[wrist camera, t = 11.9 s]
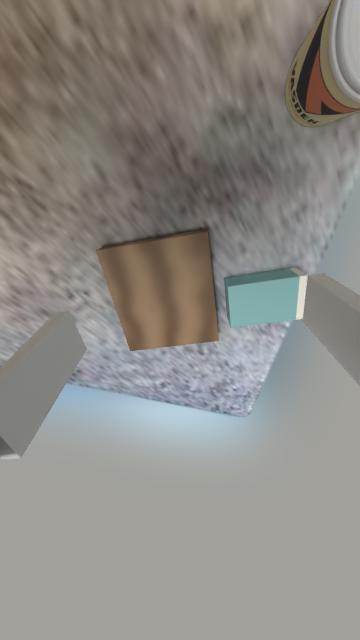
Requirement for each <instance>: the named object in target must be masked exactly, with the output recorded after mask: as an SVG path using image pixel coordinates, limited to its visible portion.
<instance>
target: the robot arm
mask: <svg viewBox="0 0 360 640" xmlns="http://www.w3.org/2000/svg"><path fill="white" fill-rule="evenodd" d="M303 322H304V324H305V325H306V326H307V327H308V328H309V329H310V330H311V332H312V333H313V334H314V335H315V336H316V337H317V338H318V339H319V341H320V342H321V343H322V344H323V345H324V346H325V347H326V348H327V350H328V351H329V352H330V353H331V354H332V355H333V356H334V357H335V359H336V360H337V361H338V362H339V363H340V364H341V365H342V367H343V368H344V369H345V370H346V371H347V372H348V373H349V374H350V375H351V377H352V378H353V379H354V380H355V381H356V382H357V383H358V385H359V386H360V295H358V294H356V293H355V292H353V291H351V290H350V289H348V288H347V287H345V286H343V285H342V284H340V283H338V282H337V281H335V280H333V279H332V278H330V277H329V276H327V275H325V274H317V275H310V276H308V281H307V289H306V297H305V305H304V313H303ZM86 349H87V348H86V346H85V344H84V342H83V340H82V338H81V336H80V334H79V331H78V329H77V327H76V325H75V323H74V321H73V319H72V317H71V315H70V312H69V311H65V312H59V313H56V314H55V315H54V316H53V317H52V318H51V319H50V320H49V321H47V322H46V323H45V324H44V325H43V326H42V327H41V328H40V329H39V330H38V331H37V332H36V333H35V334H34V335H33V336H32V337H31V338H30V339H29V340H28V341H27V342H26V343H25V344H24V345H23V346H22V347H21V348H20V349H19V350H18V351H17V352H16V353H15V354H14V355H13V356H12V357H11V358H10V359H9V360H8V361H7V362H6V363H5V364H4V365H3V366H2V367H1V368H0V457H1V458H2V459H14V458H21V457H22V456H23V454H24V452H25V451H26V449H27V447H28V446H29V444H30V442H31V441H32V439H33V437H34V436H35V434H36V432H37V431H38V429H39V427H40V426H41V424H42V422H43V421H44V419H45V417H46V416H47V414H48V412H49V411H50V409H51V407H52V406H53V404H54V403H55V401H56V399H57V398H58V396H59V394H60V393H61V391H62V389H63V388H64V386H65V384H66V383H67V381H68V379H69V378H70V376H71V374H72V373H73V371H74V369H75V368H76V366H77V364H78V363H79V361H80V359H81V358H82V356H83V354H84V353H85V351H86Z"/></svg>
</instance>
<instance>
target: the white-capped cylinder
mask: <svg viewBox="0 0 360 640" xmlns="http://www.w3.org/2000/svg"><path fill="white" fill-rule="evenodd" d="M285 99H286V105H287V108H288V111H289V113H290V115H291V116H292V118H293V119H294V120H295V121H296V122H298V123H299V124H301V125H303V126H307V127H316V126H320V125H324V124H327V123H330V122H332V121H335V120H338V119H341V118H344V117H346V116H349V115H352V114H355V113H357V112H360V0H330V1H329V2H328V4H327V6H326V7H325V9H324V10H323V12H322V14H321V15H320V17H319V18H318V20H317V22H316V23H315V25H314V27H313V28H312V30H311V31H310V33H309V35H308V36H307V38H306V40H305V41H304V43H303V44H302V46H301V48H300V49H299V51H298V53H297V55H296V57H295V58H294V60H293V62H292V65H291V67H290V69H289V72H288V76H287V80H286V87H285Z"/></svg>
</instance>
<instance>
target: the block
mask: <svg viewBox="0 0 360 640" xmlns="http://www.w3.org/2000/svg"><path fill="white" fill-rule="evenodd" d="M224 282H225V295H226V308H227V317H228V320H229V324H230V327H239V326H247V325H255V324H263V323H272V322H280V321H288V320H296V319H303V311H304V301H305V292H306V283H307V275H306V274H305V273H303V272H302V271H300V270H299V269H297V268H296V267H295V268H288V269H281V270H275V271H268V272H261V273H255V274H248V275H241V276H234V277H228V278H224Z"/></svg>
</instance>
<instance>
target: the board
mask: <svg viewBox="0 0 360 640" xmlns="http://www.w3.org/2000/svg"><path fill="white" fill-rule="evenodd" d="M96 252H97V254H98V257H99V260H100V263H101V266H102V269H103V272H104V275H105V278H106V281H107V284H108V287H109V290H110V293H111V296H112V299H113V301H114V304H115V307H116V310H117V313H118V316H119V319H120V322H121V325H122V328H123V331H124V334H125V337H126V340H127V343H128V345H129V348H130V351H135V350H143V349H152V348H160V347H169V346H178V345H186V344H195V343H204V342H212V341H219V336H218V326H217V316H216V306H215V296H214V286H213V277H212V267H211V257H210V247H209V237H208V231H207V229H204V230H199V231H193V232H187V233H181V234H175V235H170V236H164V237H158V238H152V239H146V240H141V241H135V242H129V243H123V244H118V245H112V246H106V247H102V248H100V249H98V250H97V251H96Z"/></svg>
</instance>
